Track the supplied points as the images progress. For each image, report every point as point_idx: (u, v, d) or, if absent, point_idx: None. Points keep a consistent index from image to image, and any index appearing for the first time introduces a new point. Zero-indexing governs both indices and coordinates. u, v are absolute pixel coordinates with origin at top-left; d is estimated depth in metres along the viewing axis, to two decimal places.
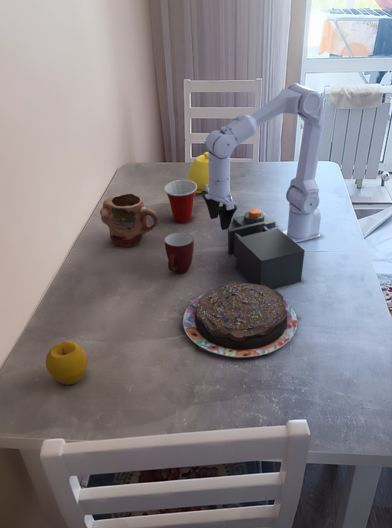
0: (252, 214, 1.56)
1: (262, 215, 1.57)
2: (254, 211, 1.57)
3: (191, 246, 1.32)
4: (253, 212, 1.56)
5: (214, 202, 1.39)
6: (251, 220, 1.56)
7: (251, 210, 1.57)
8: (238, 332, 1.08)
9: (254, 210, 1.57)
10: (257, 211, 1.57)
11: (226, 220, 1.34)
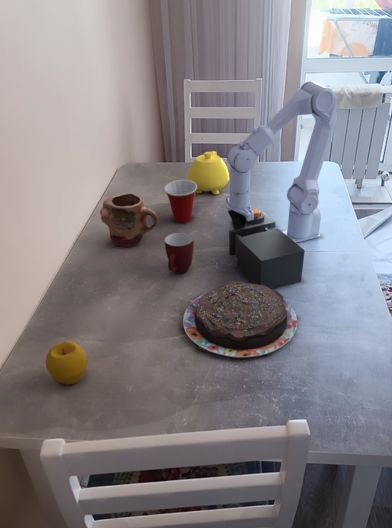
0: None
1: (262, 215, 1.57)
2: (254, 211, 1.57)
3: (191, 246, 1.32)
4: (253, 212, 1.56)
5: (238, 217, 1.43)
6: (251, 220, 1.56)
7: None
8: (238, 332, 1.08)
9: (254, 210, 1.57)
10: (257, 211, 1.57)
11: (240, 225, 1.44)
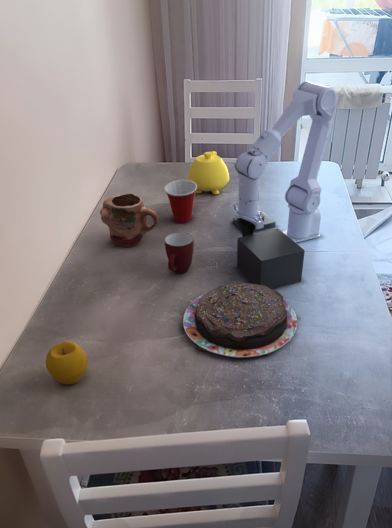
0: None
1: (262, 215, 1.57)
2: None
3: (191, 246, 1.32)
4: None
5: None
6: None
7: None
8: (238, 332, 1.08)
9: None
10: None
11: (248, 233, 1.40)
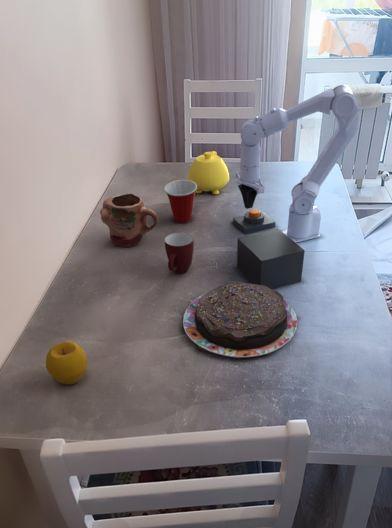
0: (252, 214, 1.56)
1: (262, 215, 1.57)
2: (254, 211, 1.57)
3: (191, 246, 1.32)
4: (253, 212, 1.56)
5: (248, 192, 1.46)
6: (251, 220, 1.56)
7: (251, 210, 1.57)
8: (238, 332, 1.08)
9: (254, 210, 1.57)
10: (257, 211, 1.57)
11: (250, 199, 1.47)
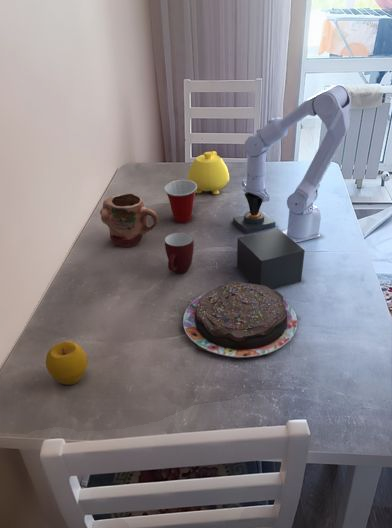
0: (252, 217, 1.57)
1: (262, 215, 1.57)
2: None
3: (191, 246, 1.32)
4: (253, 215, 1.57)
5: (254, 200, 1.55)
6: (251, 220, 1.56)
7: None
8: (238, 332, 1.08)
9: None
10: None
11: (256, 207, 1.55)
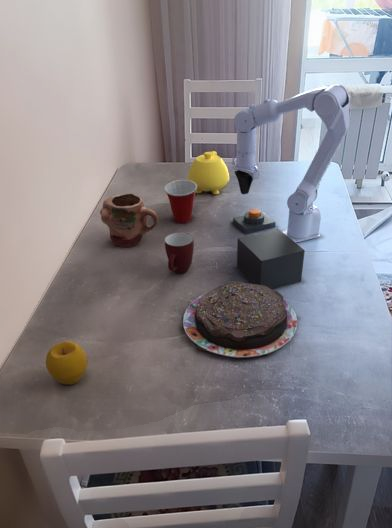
0: (252, 214, 1.56)
1: (262, 215, 1.57)
2: (254, 211, 1.57)
3: (191, 246, 1.32)
4: (253, 212, 1.56)
5: (244, 178, 1.52)
6: (251, 220, 1.56)
7: (251, 210, 1.57)
8: (238, 332, 1.08)
9: (254, 210, 1.57)
10: (257, 211, 1.57)
11: (246, 185, 1.52)
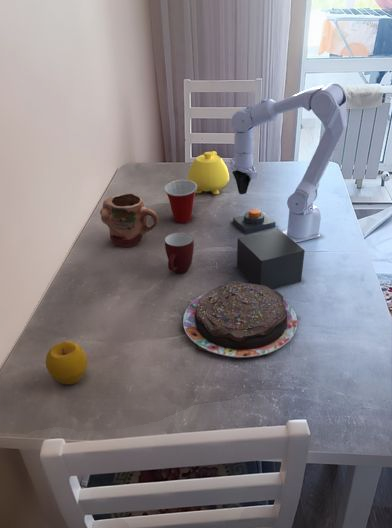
0: (252, 214, 1.56)
1: (262, 215, 1.57)
2: (254, 211, 1.57)
3: (191, 246, 1.32)
4: (253, 212, 1.56)
5: (242, 178, 1.52)
6: (251, 220, 1.56)
7: (251, 210, 1.57)
8: (238, 332, 1.08)
9: (254, 210, 1.57)
10: (257, 211, 1.57)
11: (244, 185, 1.53)
